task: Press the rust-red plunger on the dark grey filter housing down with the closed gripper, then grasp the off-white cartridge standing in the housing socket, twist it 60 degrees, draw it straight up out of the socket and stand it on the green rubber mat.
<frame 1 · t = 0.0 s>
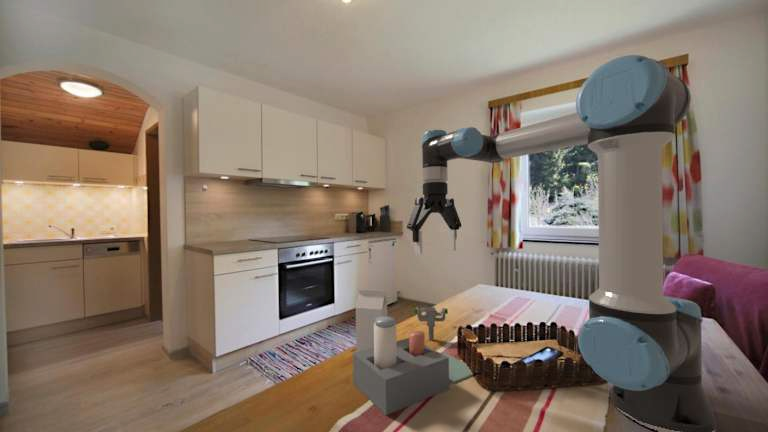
hand: (435, 251, 94), 28 cm above the table, fingers open, 13 cm apart
mechanical component: (431, 340, 97), on the table
mat: (449, 367, 79), on the table
milk carton: (372, 360, 84), on the table
cartridge: (385, 391, 69), resting in housing
plunger: (417, 349, 73), point 7 cm above the table, slide at 0.0 cm
housing: (400, 385, 71), on the table
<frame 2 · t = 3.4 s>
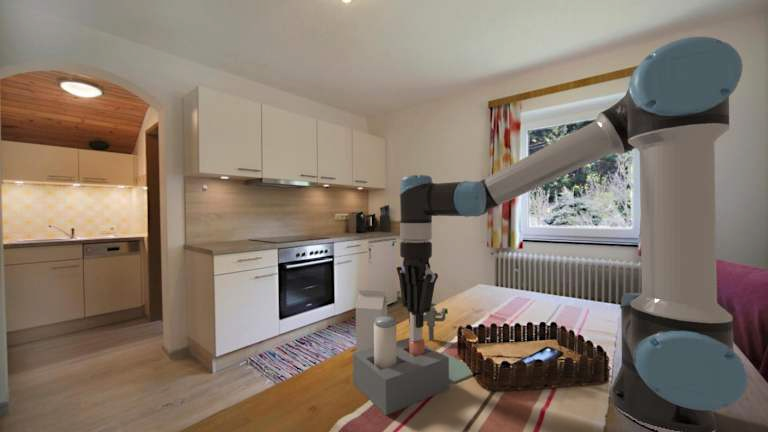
hand: (416, 339, 74), 10 cm above the table, fingers closed
plunger: (417, 356, 73), point 5 cm above the table, slide at 1.8 cm, touching gripper
everything else where it was.
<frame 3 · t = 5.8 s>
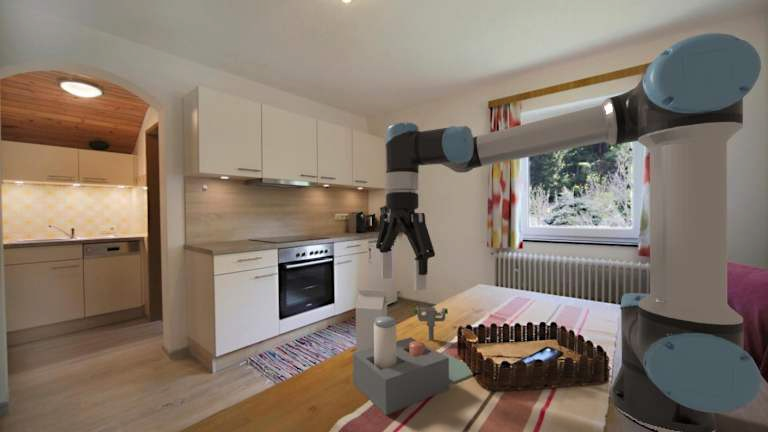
hand: (402, 283, 72), 23 cm above the table, fingers open, 13 cm apart
plunger: (417, 359, 73), point 5 cm above the table, slide at 2.6 cm
everything else where it was.
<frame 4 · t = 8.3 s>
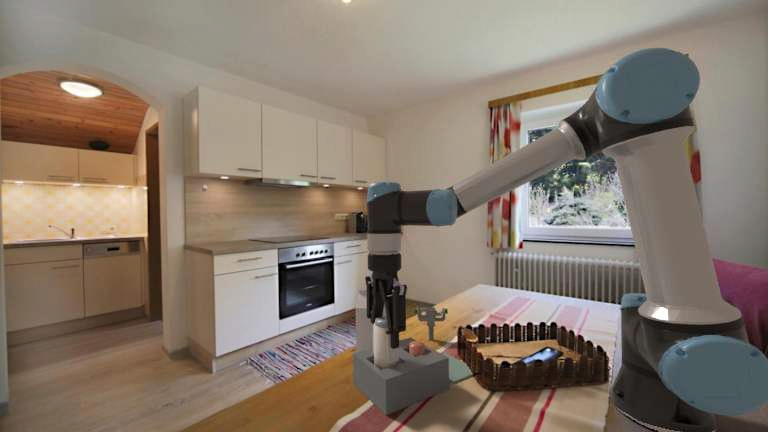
hand: (385, 356, 69), 8 cm above the table, fingers closed on cartridge, 5 cm apart
cartridge: (385, 391, 69), resting in housing, touching gripper
everything else where it was.
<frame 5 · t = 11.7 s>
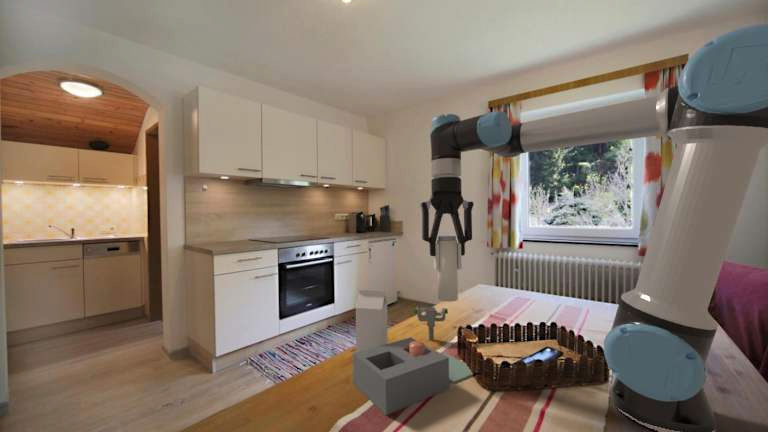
hand: (447, 268, 79), 26 cm above the table, fingers closed on cartridge, 5 cm apart
cartridge: (447, 298, 79), point 18 cm above the table, touching gripper
everything else where it was.
when the fingers open (9 cm above the table, at t = 15.2 s): cartridge stays where it is, resting on mat.
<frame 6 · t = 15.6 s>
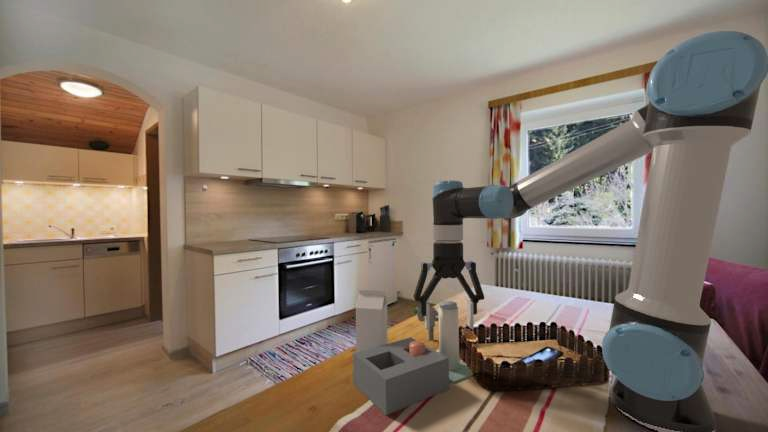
hand: (448, 327, 79), 10 cm above the table, fingers open, 10 cm apart
cartridge: (449, 365, 79), resting on mat
everything else where it was.
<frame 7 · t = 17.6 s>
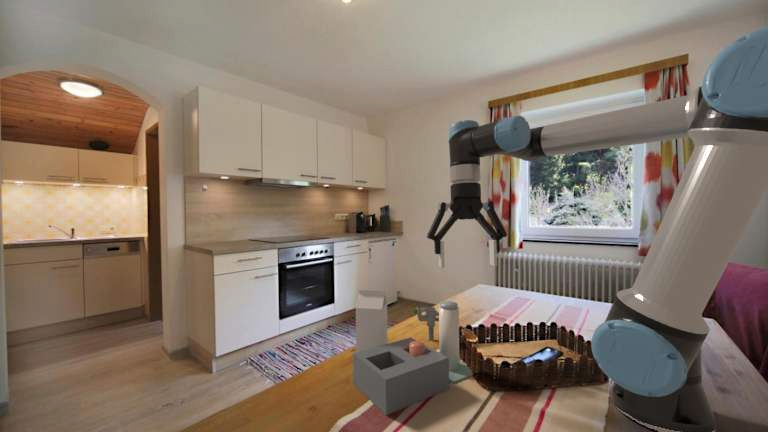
hand: (467, 266, 79), 26 cm above the table, fingers open, 13 cm apart
nothing on the table moved.
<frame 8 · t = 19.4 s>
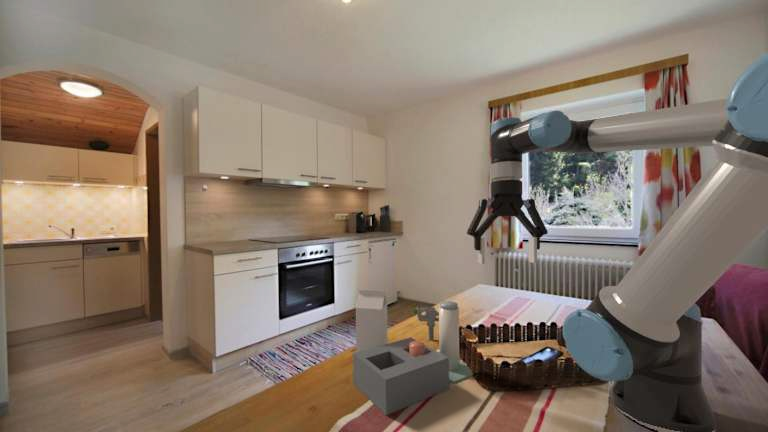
hand: (507, 262, 79), 27 cm above the table, fingers open, 13 cm apart
nothing on the table moved.
at the end: plunger slide at 2.6 cm; cartridge inside the target area on the mat (0.0 cm from its centre), point 0.4 cm above the mat's base; cartridge tilted 0° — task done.
